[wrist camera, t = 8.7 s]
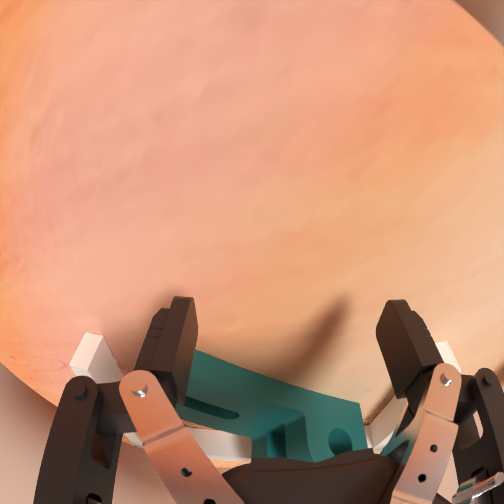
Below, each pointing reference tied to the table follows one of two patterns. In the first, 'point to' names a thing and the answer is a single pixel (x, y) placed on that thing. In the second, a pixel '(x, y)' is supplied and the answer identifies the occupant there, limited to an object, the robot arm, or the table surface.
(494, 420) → the robot arm
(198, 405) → the bracket
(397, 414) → the white open frame
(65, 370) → the table surface
